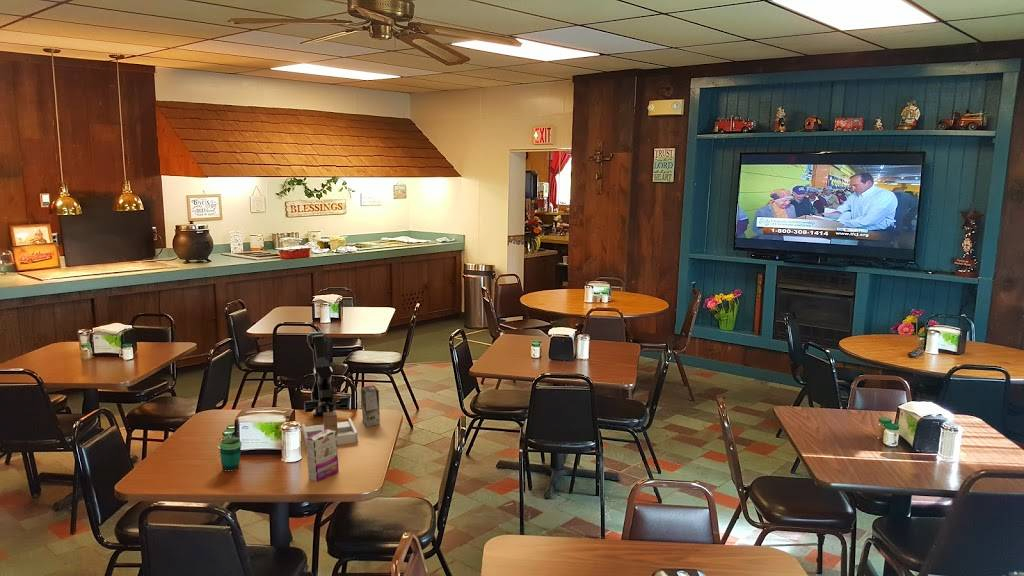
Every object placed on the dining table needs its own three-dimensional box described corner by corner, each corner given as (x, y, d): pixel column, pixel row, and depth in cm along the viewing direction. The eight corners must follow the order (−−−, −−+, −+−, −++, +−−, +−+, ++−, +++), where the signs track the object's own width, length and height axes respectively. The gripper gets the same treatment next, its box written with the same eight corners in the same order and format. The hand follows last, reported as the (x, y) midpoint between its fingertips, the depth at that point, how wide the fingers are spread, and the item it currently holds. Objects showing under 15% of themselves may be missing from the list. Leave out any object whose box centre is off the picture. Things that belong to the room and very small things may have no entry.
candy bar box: (329, 469, 279) (327, 428, 276) (339, 471, 276) (336, 430, 274) (307, 479, 269) (305, 437, 267) (317, 482, 267) (314, 440, 264)
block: (324, 435, 308) (323, 412, 307) (336, 433, 310) (335, 411, 308) (325, 439, 304) (324, 416, 302) (337, 437, 305) (336, 414, 304)
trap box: (302, 432, 319) (302, 423, 318) (350, 426, 326) (350, 417, 326) (306, 449, 299) (306, 440, 299) (357, 442, 307) (357, 433, 306)
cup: (238, 463, 285) (235, 434, 283) (247, 469, 280) (245, 439, 278) (217, 469, 280) (215, 440, 278) (226, 475, 274) (224, 445, 272)
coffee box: (380, 424, 328) (379, 390, 326) (366, 426, 326) (365, 392, 323) (375, 418, 337) (374, 385, 334) (361, 420, 334) (360, 386, 331)
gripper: (303, 383, 310) (306, 416, 302) (347, 378, 316) (352, 410, 308) (302, 395, 319) (306, 428, 310) (345, 391, 325) (350, 422, 317)
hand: (328, 422), depth 311 cm, fingers closed
